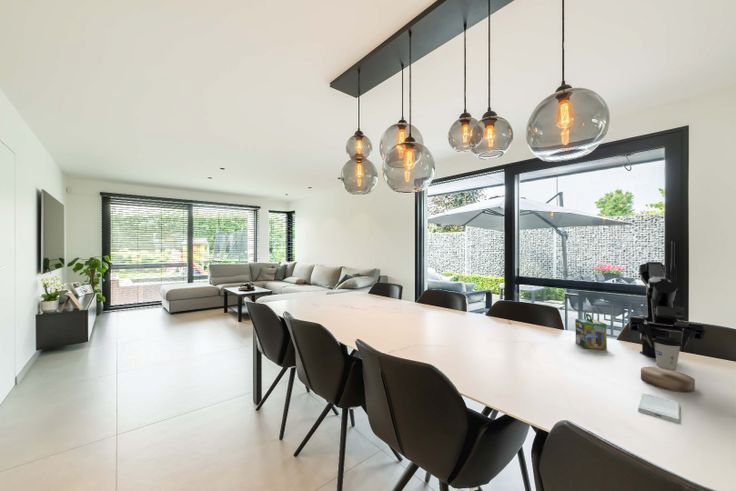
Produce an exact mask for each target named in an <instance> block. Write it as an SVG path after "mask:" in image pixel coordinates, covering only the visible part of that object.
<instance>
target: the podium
mask: <svg viewBox="0 0 736 491" xmlns="http://www.w3.org/2000/svg"><path fill="white" fill-rule="evenodd" d="M640 380H642V381H643V382H644V383H647V385H651V386H654V387H657V388H659V389H662V390H666V391H671V392H677V393H692V392H694V391H695V390H696V388H695V385H696V384H695V382H696V380H695V378H693V377H692V376H690V375H688V374H686V373H684V372H681V371H677V370H675V371H671V370H665V369H662V368H659V367H658V366H642V367H641V368H640Z"/></svg>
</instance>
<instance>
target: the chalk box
mask: <svg viewBox="0 0 736 491" xmlns="http://www.w3.org/2000/svg"><path fill="white" fill-rule="evenodd" d="M584 314H585V318H575V324H574V325H575V343H576V344H577V345H579V346H580V347H582V348H583V349H587V350H588V349H592V350H607V348H608V343H607V342H608V341H607V338H608V337H607V324H606V323H605V322H604V321H603V322H602V321H600V320H597V319H593V318H592V315H591V314H589V313H587V312H585V313H584Z"/></svg>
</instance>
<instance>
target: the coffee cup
mask: <svg viewBox="0 0 736 491" xmlns="http://www.w3.org/2000/svg"><path fill="white" fill-rule="evenodd" d="M653 341H654V347H655V354H656V358H655V359H656V360H655V361H656V367H659V368H662V369H665V370H671V371H677V366H678V362H679V357H680V350H681V341H678V339H676V338H674V337H671V336H670V337H665V336H656V338H654V339H653Z"/></svg>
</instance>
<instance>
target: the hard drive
mask: <svg viewBox="0 0 736 491" xmlns="http://www.w3.org/2000/svg"><path fill="white" fill-rule="evenodd" d="M680 410H681V409H680V402H678V401H677V400H676V401H675V400H673V399H672V400H671V399H667V398H663V397H660V396H657V395H656V396H655V395H653V394H649V393H643V392H642V393H641V395H640V399H639V404H638V408H637V412H640V413H644V414H646V415H651V416H654V417H656V418H657V417H658V418H660V419H663V420H668V421H671V422H673V423H677V424H680V418H681V417H680Z"/></svg>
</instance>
